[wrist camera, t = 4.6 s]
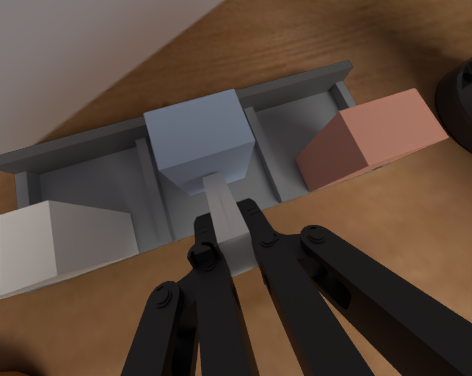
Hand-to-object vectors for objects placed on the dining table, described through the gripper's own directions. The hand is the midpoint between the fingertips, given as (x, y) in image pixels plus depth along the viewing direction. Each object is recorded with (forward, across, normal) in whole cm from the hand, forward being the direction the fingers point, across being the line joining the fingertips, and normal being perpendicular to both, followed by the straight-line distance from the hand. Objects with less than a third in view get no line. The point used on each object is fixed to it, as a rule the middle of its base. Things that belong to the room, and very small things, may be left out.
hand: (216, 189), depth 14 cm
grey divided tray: (+7, 0, -2) cm, 7 cm away
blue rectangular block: (+6, 0, -1) cm, 6 cm away
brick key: (+3, +12, -4) cm, 13 cm away
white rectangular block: (+3, -12, -4) cm, 13 cm away
